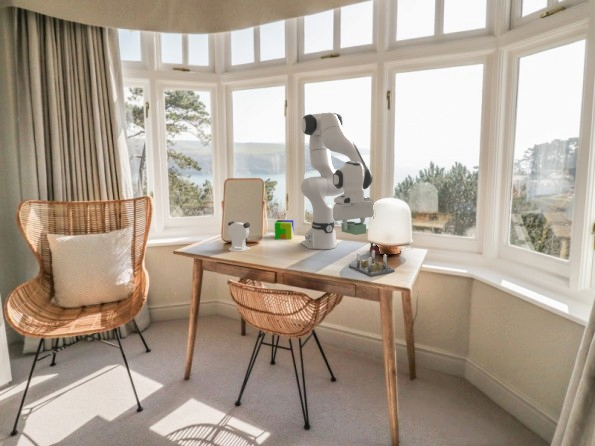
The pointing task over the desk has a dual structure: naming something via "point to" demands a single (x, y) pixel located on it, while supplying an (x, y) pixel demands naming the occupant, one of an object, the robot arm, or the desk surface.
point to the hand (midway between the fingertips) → (353, 228)
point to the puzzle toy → (284, 229)
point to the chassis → (371, 266)
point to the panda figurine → (239, 236)
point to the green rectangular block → (354, 228)
